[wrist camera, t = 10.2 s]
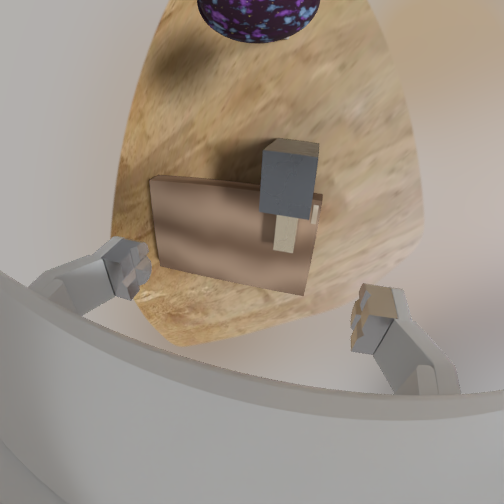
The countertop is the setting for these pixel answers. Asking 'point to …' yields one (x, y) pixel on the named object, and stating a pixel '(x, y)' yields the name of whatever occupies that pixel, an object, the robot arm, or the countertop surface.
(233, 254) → the board
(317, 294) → the countertop surface
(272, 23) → the lollipop
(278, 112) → the countertop surface
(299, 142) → the upright grey metal block
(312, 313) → the countertop surface
